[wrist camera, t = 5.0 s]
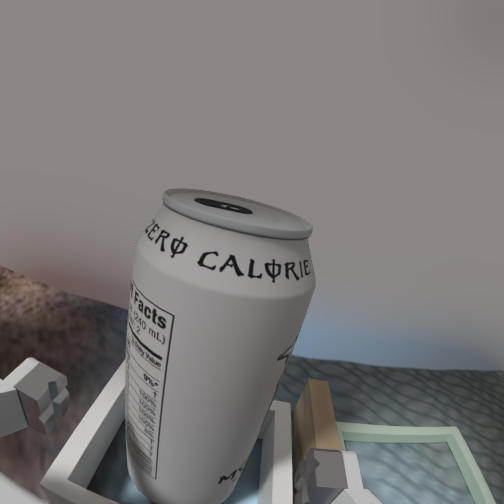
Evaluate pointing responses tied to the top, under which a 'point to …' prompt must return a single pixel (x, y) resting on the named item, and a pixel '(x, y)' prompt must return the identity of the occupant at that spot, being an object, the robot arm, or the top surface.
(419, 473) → the top surface
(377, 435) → the socket
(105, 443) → the socket
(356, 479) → the robot arm
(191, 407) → the energy drink can
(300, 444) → the rail
